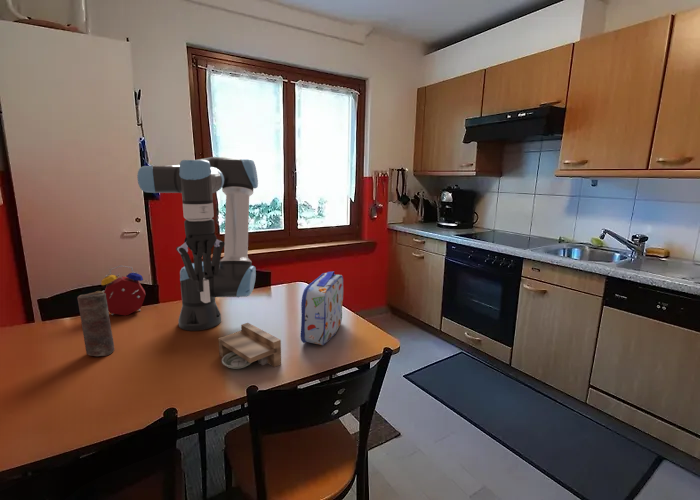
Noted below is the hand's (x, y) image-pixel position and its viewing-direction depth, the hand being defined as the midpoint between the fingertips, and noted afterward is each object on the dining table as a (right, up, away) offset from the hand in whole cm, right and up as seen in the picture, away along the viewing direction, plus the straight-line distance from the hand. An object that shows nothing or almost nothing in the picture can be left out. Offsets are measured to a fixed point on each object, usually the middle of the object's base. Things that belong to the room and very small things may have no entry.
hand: (205, 301), depth 104 cm
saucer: (+7, -20, +7) cm, 23 cm away
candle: (-38, -18, +12) cm, 44 cm away
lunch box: (+31, -16, +29) cm, 46 cm away
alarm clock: (-49, -12, +44) cm, 67 cm away
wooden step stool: (+9, -20, +9) cm, 24 cm away
